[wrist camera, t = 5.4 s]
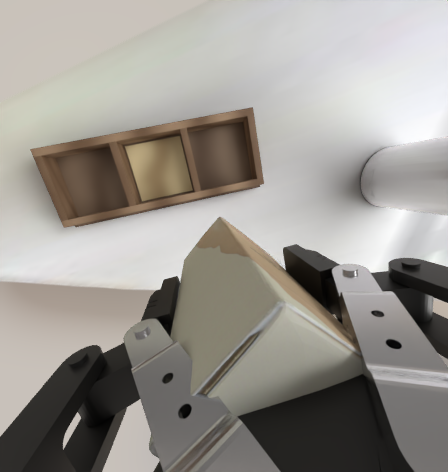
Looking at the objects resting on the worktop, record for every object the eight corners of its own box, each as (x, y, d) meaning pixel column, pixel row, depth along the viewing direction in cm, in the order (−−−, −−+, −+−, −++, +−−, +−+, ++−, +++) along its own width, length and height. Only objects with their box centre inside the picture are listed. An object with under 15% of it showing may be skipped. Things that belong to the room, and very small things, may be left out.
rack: (246, 112, 28) (253, 103, 25) (257, 186, 31) (265, 186, 27) (48, 150, 26) (27, 145, 23) (79, 225, 29) (64, 231, 25)
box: (271, 255, 15) (441, 412, 5) (235, 298, 16) (318, 527, 5) (216, 212, 14) (287, 300, 3) (178, 260, 15) (138, 469, 4)
